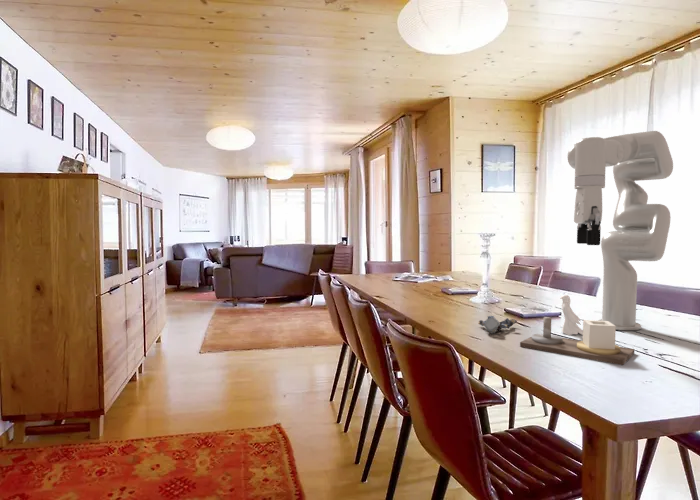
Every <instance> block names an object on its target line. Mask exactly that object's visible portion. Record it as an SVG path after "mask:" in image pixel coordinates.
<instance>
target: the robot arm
mask: <svg viewBox="0 0 700 500" xmlns="http://www.w3.org/2000/svg"><path fill="white" fill-rule="evenodd" d="M567 162H568V164H569V166H570V167H571V168H572V169H574V190H576V193H575V201H574V215H573V221H574V223H576V224H577V227H576V228H577V229H576V231H577V232H576V243H577V244H579V245H580V244H582V245H584V244H586V245H587V246H600V247H601V253H602V260H603V262H602V263H603V280H602V281H603V282H602V284H603V285H602V315H601V317H602V318H601V319H598V320H597V321H609V322H610V323H612V324H613V325H615V326H616V331H638V330H641V329H642V325H641V323H638V322H637V320H636V319H637V298H638V296H637V295H638V293H637V292H638V291H637V290H638V273H637V271H636V269H635V268H634V266H633V265H632V264H631V263H630V261H633V262H634V261H635V262H636V261H637V262H658V261H660V260H662V258H663V257H664V254H665V250H666V247H667V241H668V236H669V231H670V226H671V211H670V209H669V208H668V207H667V206H666V205H664V204H661V203H648V200H649V196H648V193H647V191H646V190H645V189H644V188H643V187H641V185H639V184H638V183H636V182H637V181H651V180H652V181H654V180H664V179H667V178H668V177H670V176H671V175H672V174H673V173H672V172H673V169H674V161H673V157H672V154H671V151H670V148H669V145H668V142H667V140H666V137H665V136H664V134H663V133H661V132H660V131H658V130H649V131H648V130H647V131H643V132H635V133H634V132H633V133H627V134H626V133H624V134H621V135H620V134H619V135H614V136H611V137H610V136H609V137H600V136H596V137H595V136H593V137H584V138H581V139H578V140H577V141H576V143H574V144H573V145H572V146H570V148H569V149H568V153H567ZM608 167H612V171H613V178H614V182H615V186H616V190H617V192H618V193H617V194H618V199H617V203H616V207H615V210H614V214H613V220H612V227H613V228H614V229H615V231H610V232H606V233H605V234H604V235H603V236H602V238H601V230H602V228H601V223H602V220H603V219H602V218H603V189H605V187H606V168H608Z"/></svg>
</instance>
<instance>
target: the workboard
mask: <svg viewBox="0 0 700 500" xmlns="http://www.w3.org/2000/svg"><path fill="white" fill-rule="evenodd" d="M542 327H543V328H542V329H543V331H542V333H535V334H532V335H531V336H530V337H528V338H526V339H524V340H522V341H520V342H519V347H521V348H522V347H523V348H525V349H526V348H527V349H532V350H538V351H544V352H548V353H553V354H554V353H556V354H559V355H565V356H566V355H567V356H570V357H577V358H581V359H587V360H591V361H592V360H593V361H598V362H603V363H604V362H605V363H610V364H615V365H619V366H620V365H621V366H623V365H625V363H627V361H629V359H631V358H632V357H633V356H634V354H635V349H634V348H629V347H623V346H619V345H617V344H615V349H599V348H589V347H588V346H587V345H585V344H584V343H583V340H578V339H572V338H568V337H567V338H566V337H563V336H560V335H556V334H552V317H549V316H544V317H543V326H542Z"/></svg>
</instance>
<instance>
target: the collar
mask: <svg viewBox="0 0 700 500" xmlns="http://www.w3.org/2000/svg"><path fill="white" fill-rule="evenodd" d="M582 322H583V323H582V330H583V335H582V341H583V343H584V344H585V345H587V346H588V347H589V348H599V349H615V345H616V334H617V333H616V331H617V330H616V326H615V325H613V324H612V323H610V322H609V321H598V320H593V319H592V320H590V319H583V321H582Z"/></svg>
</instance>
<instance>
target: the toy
mask: <svg viewBox="0 0 700 500" xmlns="http://www.w3.org/2000/svg"><path fill="white" fill-rule="evenodd" d="M517 323H518V320H517V319H515V318H513V317H511V318H510V319H509V318H505V319H504V320H502V321H499V320H498V319H497V318H496V317H495V316H494V315H487V319H486V320H482V319H480V320H478V325H480V326H483V327H484V328H485V329H486V330H487V331H488V332H489V333H490V334H495V333H496V332H500V333H501V329H503V330H505V329H510V328H511V327H513V325H514V324H517Z"/></svg>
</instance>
